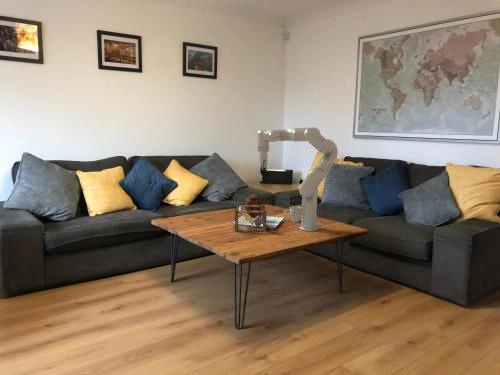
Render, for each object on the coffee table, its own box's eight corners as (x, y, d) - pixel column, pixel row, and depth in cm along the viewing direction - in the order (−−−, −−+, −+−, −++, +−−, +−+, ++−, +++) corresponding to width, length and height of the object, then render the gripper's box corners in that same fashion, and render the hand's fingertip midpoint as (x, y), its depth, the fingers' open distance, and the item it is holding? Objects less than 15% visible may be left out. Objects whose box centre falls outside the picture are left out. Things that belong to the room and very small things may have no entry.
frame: (264, 223, 285) (264, 204, 283) (266, 231, 265) (266, 210, 263) (235, 223, 284) (235, 204, 282) (234, 231, 264) (234, 210, 262)
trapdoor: (251, 219, 281) (253, 217, 281) (252, 224, 267) (254, 222, 267) (239, 207, 279) (240, 205, 279) (239, 211, 266) (240, 209, 265)
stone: (257, 225, 277) (263, 220, 277) (257, 227, 272) (263, 222, 272) (252, 219, 276) (258, 215, 276) (253, 221, 271) (258, 216, 271)
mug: (301, 222, 289) (302, 208, 287) (283, 222, 289) (283, 208, 288) (300, 219, 297) (301, 205, 296) (282, 219, 297) (283, 205, 296)
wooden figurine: (262, 219, 298) (262, 194, 295) (261, 221, 291) (261, 196, 289) (245, 218, 299) (246, 193, 297) (244, 220, 293) (244, 195, 290)
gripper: (256, 148, 284) (256, 173, 286) (258, 150, 267) (259, 176, 269) (267, 148, 284) (267, 173, 287) (270, 150, 267) (270, 176, 270)
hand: (263, 174), depth 278 cm, fingers open, 9 cm apart
